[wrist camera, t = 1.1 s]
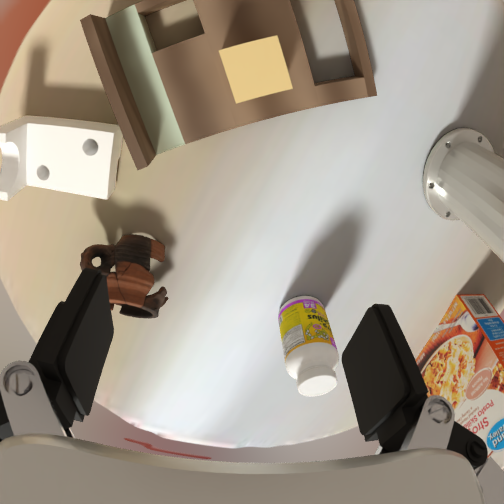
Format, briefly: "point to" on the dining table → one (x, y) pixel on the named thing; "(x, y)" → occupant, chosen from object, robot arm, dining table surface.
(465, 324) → the orange cereal box
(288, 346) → the supplement bottle
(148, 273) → the pottery mug
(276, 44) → the block
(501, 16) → the dining table surface
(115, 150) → the bracket
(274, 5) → the box
